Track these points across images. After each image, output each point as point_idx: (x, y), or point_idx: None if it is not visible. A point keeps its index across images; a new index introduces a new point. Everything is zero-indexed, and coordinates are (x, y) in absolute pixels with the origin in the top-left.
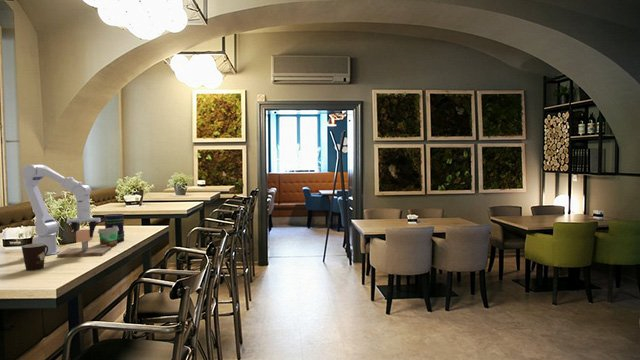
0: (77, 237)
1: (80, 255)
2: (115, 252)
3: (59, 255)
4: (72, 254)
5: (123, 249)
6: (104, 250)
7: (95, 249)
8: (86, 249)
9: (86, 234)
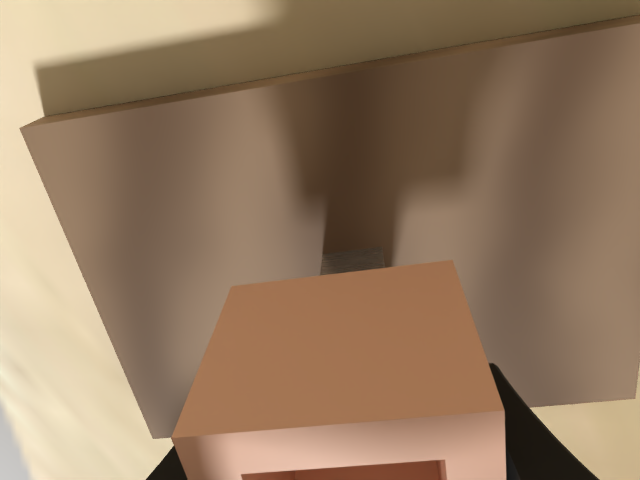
0: (441, 310)
1: (322, 73)
2: (8, 273)
3: (634, 21)
4: (435, 55)
5: (29, 402)
6: (79, 242)
7: None
8: (324, 262)
9: (243, 370)
